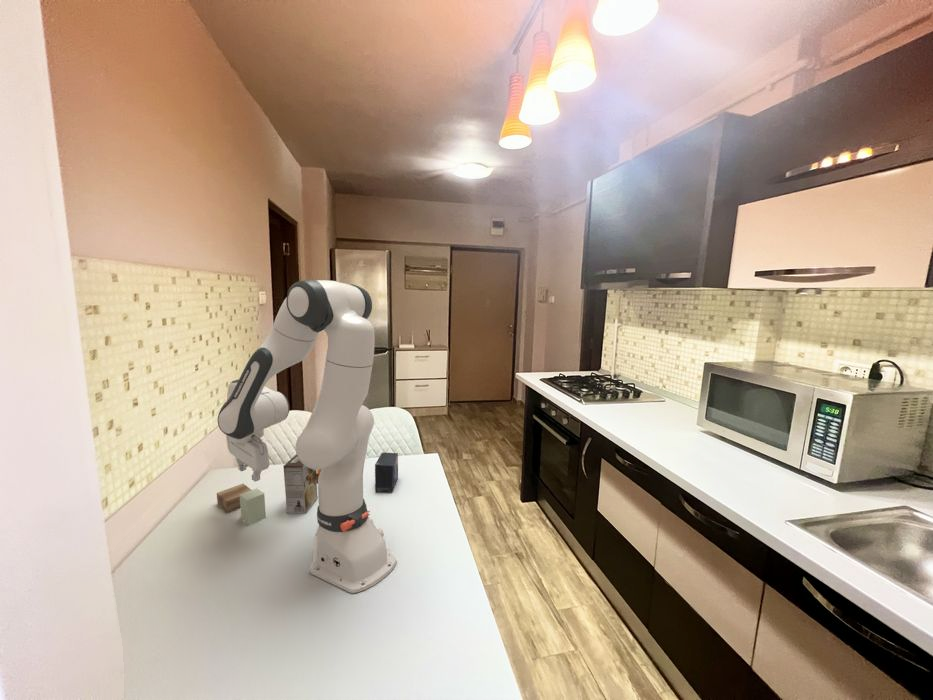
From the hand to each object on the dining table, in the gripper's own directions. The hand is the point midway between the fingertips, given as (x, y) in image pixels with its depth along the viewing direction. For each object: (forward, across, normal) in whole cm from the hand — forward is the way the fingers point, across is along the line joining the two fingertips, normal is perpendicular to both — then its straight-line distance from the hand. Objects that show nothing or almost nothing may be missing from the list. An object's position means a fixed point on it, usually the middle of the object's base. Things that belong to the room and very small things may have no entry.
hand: (249, 475), depth 115 cm
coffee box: (+14, -6, -13) cm, 20 cm away
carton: (+15, +12, -26) cm, 32 cm away
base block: (+14, +12, 0) cm, 19 cm away
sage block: (+14, -1, 0) cm, 14 cm away
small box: (+14, -17, -39) cm, 45 cm away
